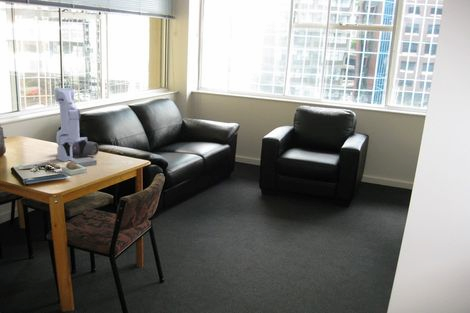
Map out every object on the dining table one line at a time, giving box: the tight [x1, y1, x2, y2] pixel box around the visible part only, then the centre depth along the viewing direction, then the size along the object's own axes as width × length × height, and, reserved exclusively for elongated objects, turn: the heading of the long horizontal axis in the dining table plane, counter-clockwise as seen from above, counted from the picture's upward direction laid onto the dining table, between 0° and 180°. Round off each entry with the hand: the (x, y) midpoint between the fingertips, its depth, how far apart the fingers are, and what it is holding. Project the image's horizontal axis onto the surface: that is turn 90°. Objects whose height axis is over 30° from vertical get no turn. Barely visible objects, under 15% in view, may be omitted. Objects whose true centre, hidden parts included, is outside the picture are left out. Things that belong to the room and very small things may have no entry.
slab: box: [70, 156, 98, 167], centre depth 270 cm, size 9×12×3 cm
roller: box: [65, 161, 78, 170], centre depth 254 cm, size 6×4×4 cm, turn 47°
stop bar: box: [46, 161, 61, 169], centre depth 256 cm, size 12×2×3 cm, turn 47°
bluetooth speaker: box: [72, 140, 100, 158], centre depth 288 cm, size 23×9×10 cm, turn 76°
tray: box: [61, 164, 88, 176], centre depth 255 cm, size 10×9×2 cm
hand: (74, 154), depth 254 cm, fingers open, 7 cm apart
